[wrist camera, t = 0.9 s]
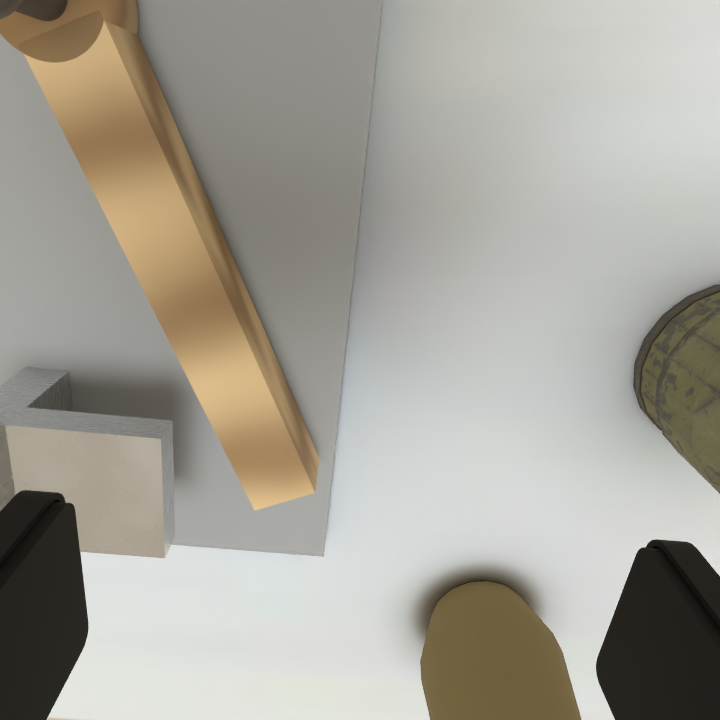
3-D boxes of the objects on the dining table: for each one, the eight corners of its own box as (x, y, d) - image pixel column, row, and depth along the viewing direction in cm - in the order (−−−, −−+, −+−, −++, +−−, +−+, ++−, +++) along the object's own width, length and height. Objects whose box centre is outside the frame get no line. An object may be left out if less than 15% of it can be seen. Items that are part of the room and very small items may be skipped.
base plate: (-132, -168, 20) (-168, -191, 19) (391, -96, 21) (394, -112, 20) (-11, 511, 31) (-28, 529, 30) (324, 538, 32) (323, 556, 31)
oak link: (7, -30, 20) (-161, -107, 14) (105, -72, 20) (-19, -174, 13) (255, 476, 29) (225, 579, 22) (328, 454, 28) (320, 553, 22)
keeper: (26, 366, 26) (-49, 420, 21) (196, 382, 27) (160, 438, 22) (40, 472, 29) (-25, 543, 24) (196, 486, 29) (164, 558, 24)
